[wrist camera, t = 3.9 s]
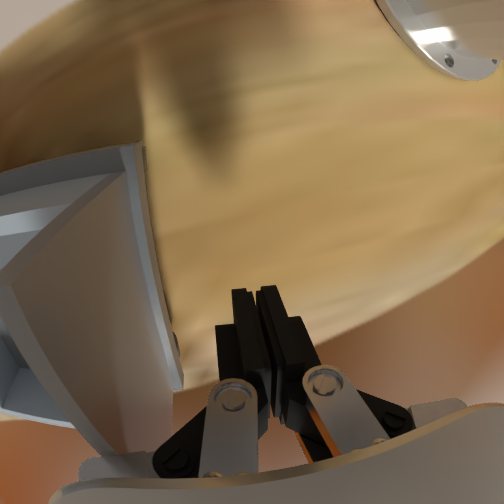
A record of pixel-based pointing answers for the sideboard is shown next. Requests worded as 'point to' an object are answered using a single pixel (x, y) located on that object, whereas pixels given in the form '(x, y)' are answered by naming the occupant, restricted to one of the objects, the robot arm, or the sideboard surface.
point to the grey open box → (85, 301)
